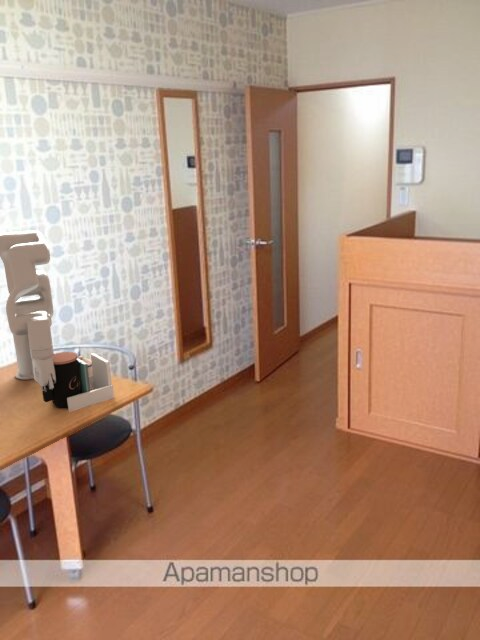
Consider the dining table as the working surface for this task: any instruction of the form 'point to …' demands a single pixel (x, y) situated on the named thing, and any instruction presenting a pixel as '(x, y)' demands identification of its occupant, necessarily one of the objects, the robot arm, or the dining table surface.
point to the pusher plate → (84, 376)
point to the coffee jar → (66, 378)
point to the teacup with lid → (89, 364)
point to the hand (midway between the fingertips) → (48, 400)
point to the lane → (94, 386)
